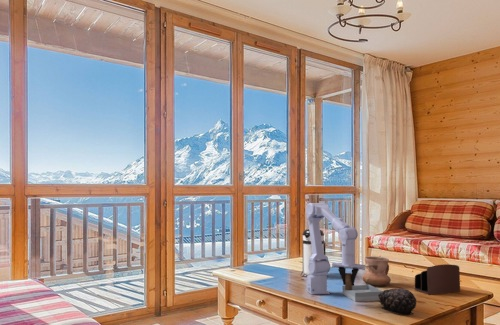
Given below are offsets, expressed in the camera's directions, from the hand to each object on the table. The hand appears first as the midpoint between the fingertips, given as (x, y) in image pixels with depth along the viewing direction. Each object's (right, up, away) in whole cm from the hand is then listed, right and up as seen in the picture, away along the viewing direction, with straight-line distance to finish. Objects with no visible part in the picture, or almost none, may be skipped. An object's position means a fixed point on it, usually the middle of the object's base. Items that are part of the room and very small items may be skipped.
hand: (348, 284), depth 189 cm
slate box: (+9, -9, +10) cm, 16 cm away
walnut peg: (0, -2, 0) cm, 2 cm away
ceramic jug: (+24, -11, +37) cm, 45 cm away
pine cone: (+17, -8, -12) cm, 22 cm away
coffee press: (-7, -12, +58) cm, 60 cm away
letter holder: (+50, -10, +23) cm, 56 cm away
